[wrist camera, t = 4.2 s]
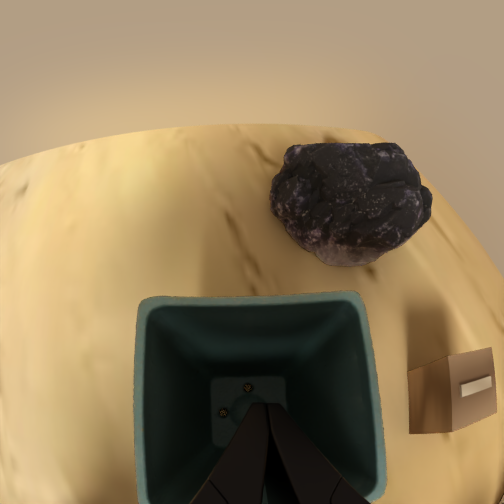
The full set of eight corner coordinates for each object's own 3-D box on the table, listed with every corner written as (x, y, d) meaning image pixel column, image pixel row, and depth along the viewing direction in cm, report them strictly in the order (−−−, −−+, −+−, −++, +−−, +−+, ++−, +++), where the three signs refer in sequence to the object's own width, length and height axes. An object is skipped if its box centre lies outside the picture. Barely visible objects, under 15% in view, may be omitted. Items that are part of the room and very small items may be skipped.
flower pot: (181, 474, 13) (138, 520, 5) (178, 348, 17) (137, 293, 10) (320, 466, 13) (389, 498, 6) (308, 344, 18) (362, 288, 11)
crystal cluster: (279, 159, 30) (282, 80, 21) (396, 180, 28) (426, 110, 19) (257, 268, 23) (253, 185, 15) (408, 291, 22) (471, 228, 13)
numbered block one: (454, 420, 15) (498, 411, 10) (408, 433, 14) (454, 431, 10) (451, 364, 17) (493, 346, 13) (406, 372, 17) (449, 354, 13)
